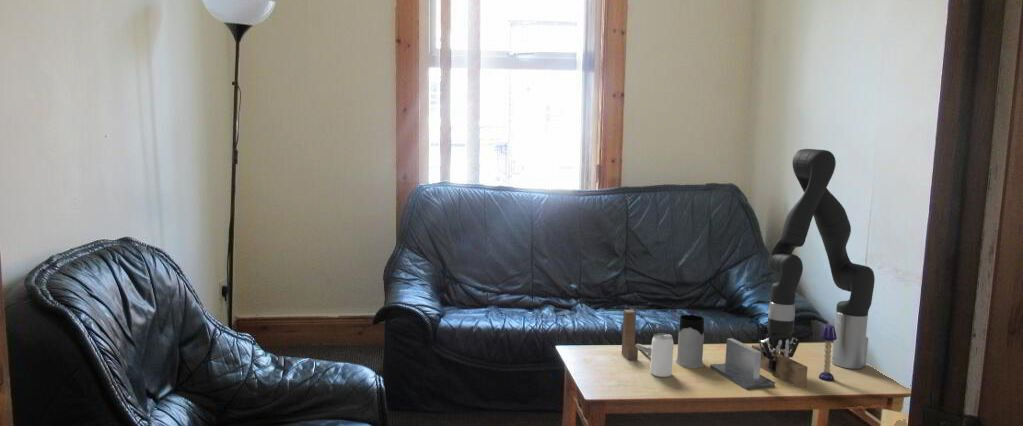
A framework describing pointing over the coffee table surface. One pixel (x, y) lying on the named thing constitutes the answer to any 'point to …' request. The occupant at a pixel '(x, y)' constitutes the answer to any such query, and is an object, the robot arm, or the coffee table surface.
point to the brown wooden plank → (785, 368)
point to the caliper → (644, 348)
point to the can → (662, 355)
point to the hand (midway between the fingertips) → (777, 370)
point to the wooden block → (629, 335)
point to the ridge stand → (742, 366)
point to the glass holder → (690, 341)
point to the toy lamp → (827, 350)
